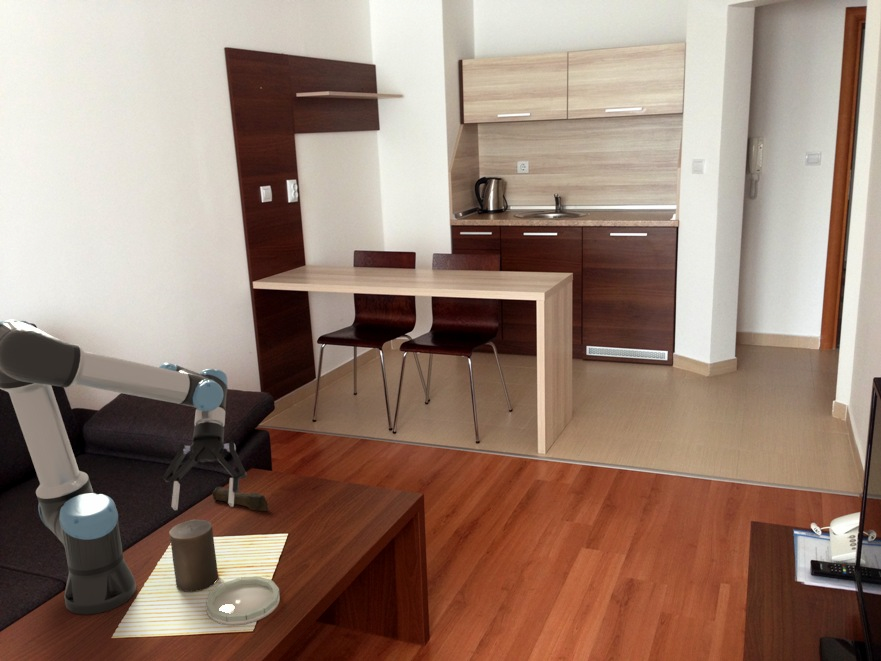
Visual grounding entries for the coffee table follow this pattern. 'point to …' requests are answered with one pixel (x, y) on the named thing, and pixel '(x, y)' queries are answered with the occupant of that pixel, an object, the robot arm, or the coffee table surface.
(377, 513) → the coffee table surface
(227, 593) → the candle plate
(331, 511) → the coffee table surface
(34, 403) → the robot arm
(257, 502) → the dark brown bark log
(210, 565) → the pillar candle
